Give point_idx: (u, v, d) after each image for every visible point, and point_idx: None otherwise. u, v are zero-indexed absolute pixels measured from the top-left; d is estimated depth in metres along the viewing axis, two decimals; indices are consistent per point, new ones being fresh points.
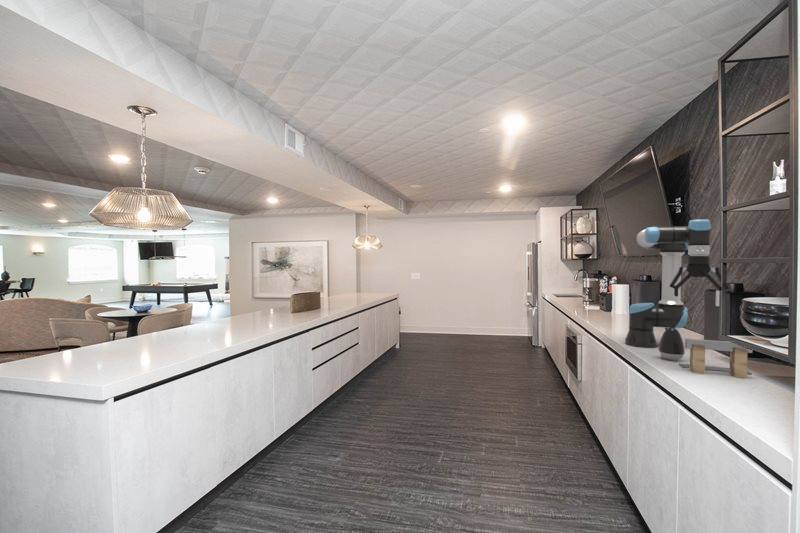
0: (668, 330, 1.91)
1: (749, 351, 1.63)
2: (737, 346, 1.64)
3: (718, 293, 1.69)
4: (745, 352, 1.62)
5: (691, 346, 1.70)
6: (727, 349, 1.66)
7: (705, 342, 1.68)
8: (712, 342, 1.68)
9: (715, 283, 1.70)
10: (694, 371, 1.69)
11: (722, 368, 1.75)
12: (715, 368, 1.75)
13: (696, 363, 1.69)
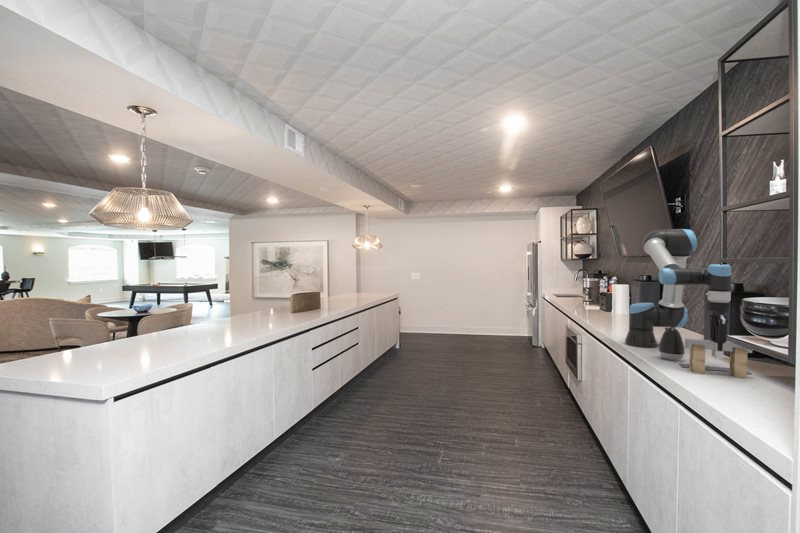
0: (668, 330, 1.91)
1: (749, 351, 1.63)
2: (737, 346, 1.64)
3: (715, 345, 1.67)
4: (745, 352, 1.62)
5: (691, 346, 1.70)
6: (727, 349, 1.66)
7: (705, 342, 1.68)
8: (712, 342, 1.68)
9: (716, 333, 1.66)
10: (694, 371, 1.69)
11: (722, 368, 1.75)
12: (715, 368, 1.75)
13: (696, 363, 1.69)
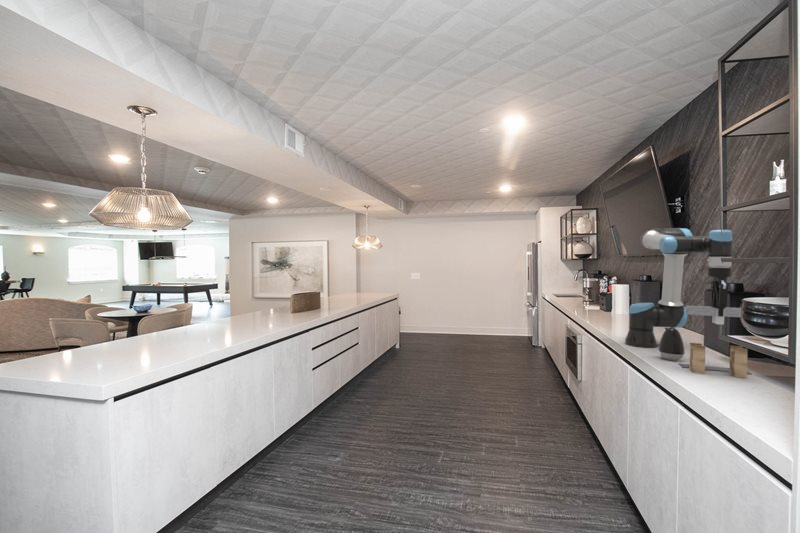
0: (668, 330, 1.91)
1: None
2: (738, 311, 1.64)
3: None
4: (745, 352, 1.62)
5: (692, 312, 1.70)
6: (728, 315, 1.65)
7: (706, 308, 1.68)
8: (713, 308, 1.67)
9: (717, 299, 1.66)
10: (694, 371, 1.69)
11: (722, 368, 1.75)
12: (715, 368, 1.75)
13: (696, 363, 1.69)
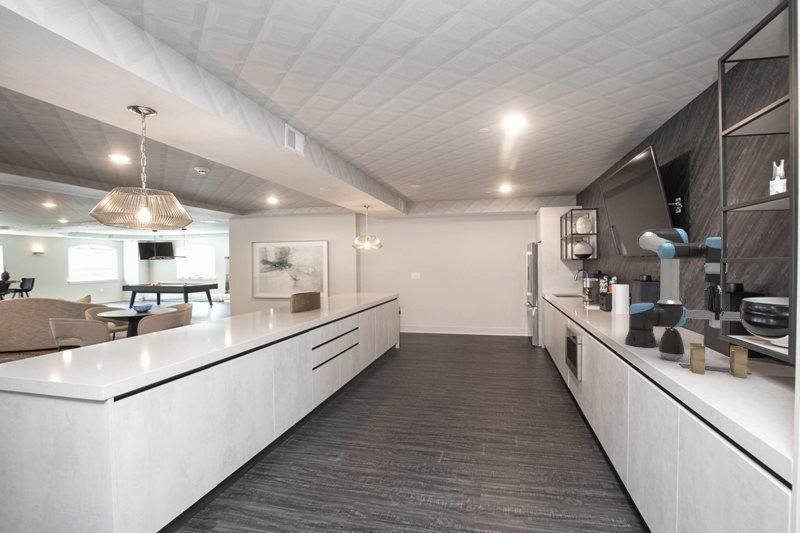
0: (668, 330, 1.91)
1: None
2: (733, 315, 1.71)
3: (712, 315, 1.74)
4: (745, 352, 1.62)
5: (689, 316, 1.77)
6: (724, 318, 1.72)
7: (703, 312, 1.75)
8: (709, 312, 1.74)
9: (713, 304, 1.73)
10: (694, 371, 1.69)
11: (722, 368, 1.75)
12: (715, 368, 1.75)
13: (696, 363, 1.69)
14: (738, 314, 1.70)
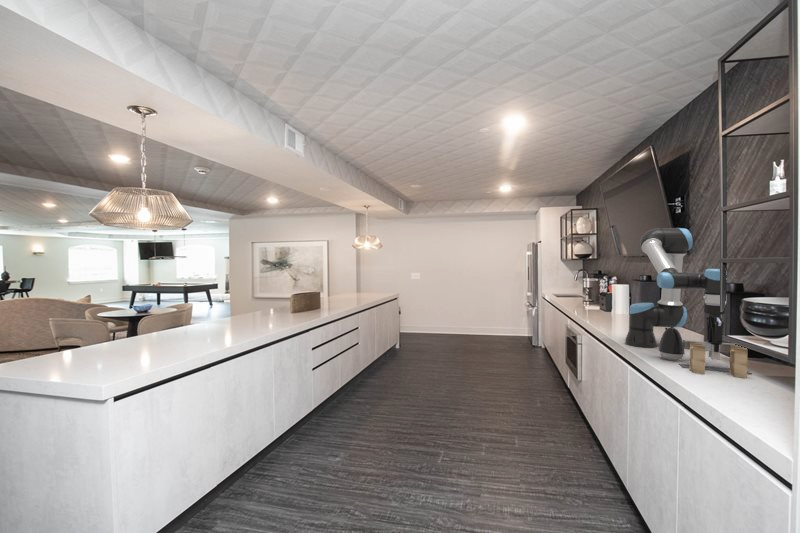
0: (668, 330, 1.91)
1: None
2: None
3: None
4: (745, 352, 1.62)
5: (689, 347, 1.77)
6: (723, 350, 1.73)
7: (702, 343, 1.75)
8: (709, 343, 1.75)
9: (712, 335, 1.73)
10: (694, 371, 1.69)
11: (722, 368, 1.75)
12: (715, 368, 1.75)
13: (696, 363, 1.69)
14: None
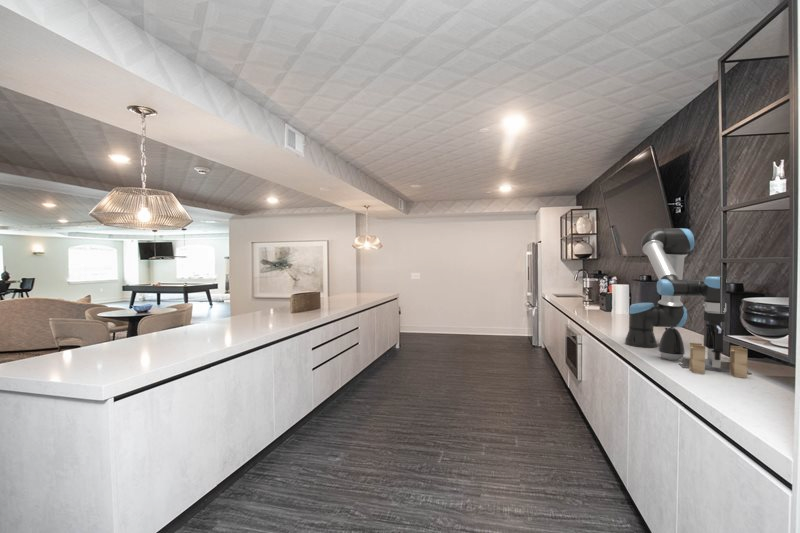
0: (668, 330, 1.91)
1: None
2: None
3: (712, 354, 1.73)
4: (745, 352, 1.62)
5: (688, 364, 1.78)
6: (722, 368, 1.73)
7: None
8: (708, 361, 1.75)
9: (713, 343, 1.72)
10: (694, 371, 1.69)
11: None
12: None
13: (696, 363, 1.69)
14: None
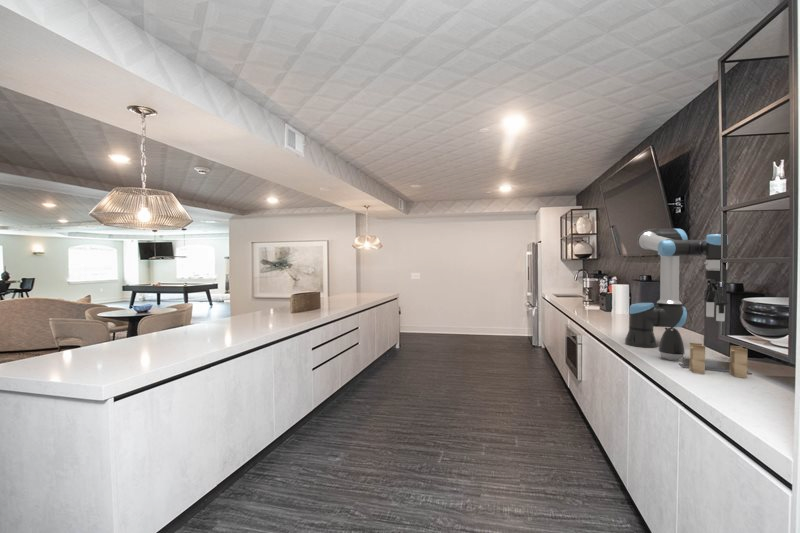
0: (668, 330, 1.91)
1: None
2: None
3: (716, 308, 1.69)
4: (745, 352, 1.62)
5: (688, 364, 1.78)
6: (722, 368, 1.73)
7: None
8: (708, 361, 1.75)
9: (716, 297, 1.70)
10: (694, 371, 1.69)
11: None
12: None
13: (696, 363, 1.69)
14: None
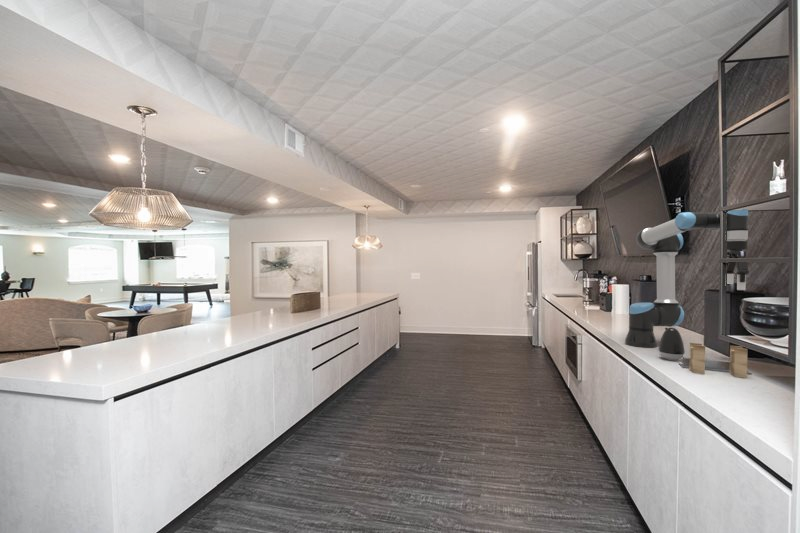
0: (668, 330, 1.91)
1: None
2: None
3: (737, 277, 1.72)
4: (745, 352, 1.62)
5: (688, 364, 1.78)
6: (722, 368, 1.73)
7: None
8: (708, 361, 1.75)
9: (737, 267, 1.73)
10: (694, 371, 1.69)
11: None
12: None
13: (696, 363, 1.69)
14: None
